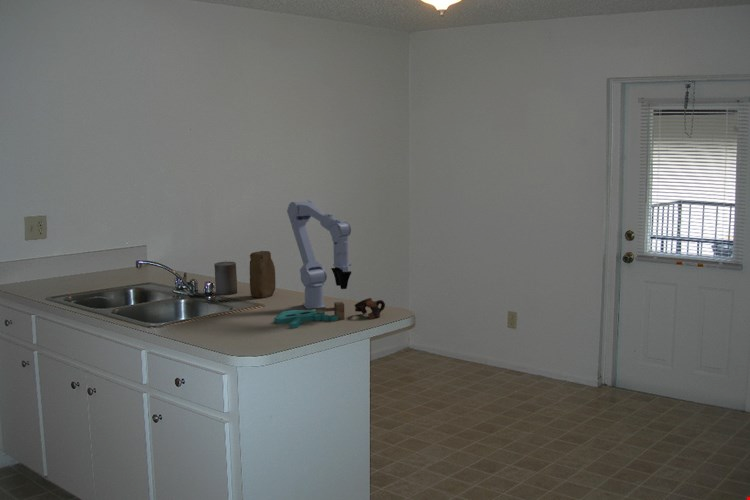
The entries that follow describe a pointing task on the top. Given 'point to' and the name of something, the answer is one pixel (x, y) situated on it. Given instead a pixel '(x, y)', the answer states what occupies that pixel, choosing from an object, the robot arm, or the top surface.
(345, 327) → the top surface
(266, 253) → the brown jar
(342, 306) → the wooden mallet
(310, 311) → the alien figure
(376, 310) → the broken pottery
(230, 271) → the pillar candle
